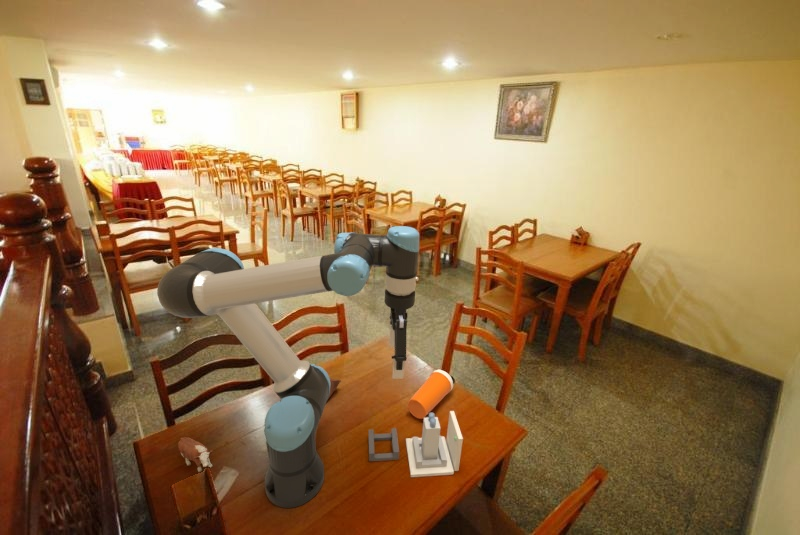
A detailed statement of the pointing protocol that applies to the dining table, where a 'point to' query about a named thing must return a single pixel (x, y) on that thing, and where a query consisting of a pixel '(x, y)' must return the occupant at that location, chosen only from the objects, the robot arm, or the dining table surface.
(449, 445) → the port
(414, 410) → the shaker bottle
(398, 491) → the dining table surface
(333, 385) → the fossil
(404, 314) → the robot arm
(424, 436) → the plug
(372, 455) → the grey square frame
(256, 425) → the dining table surface
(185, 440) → the bull figurine
